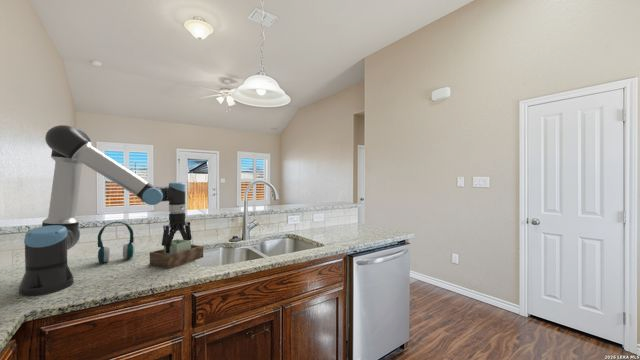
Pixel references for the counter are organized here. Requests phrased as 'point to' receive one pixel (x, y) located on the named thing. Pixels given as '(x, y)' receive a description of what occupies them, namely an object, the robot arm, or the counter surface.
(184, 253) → the big crate
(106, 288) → the counter surface
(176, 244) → the small crate
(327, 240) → the counter surface
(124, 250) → the headphones
